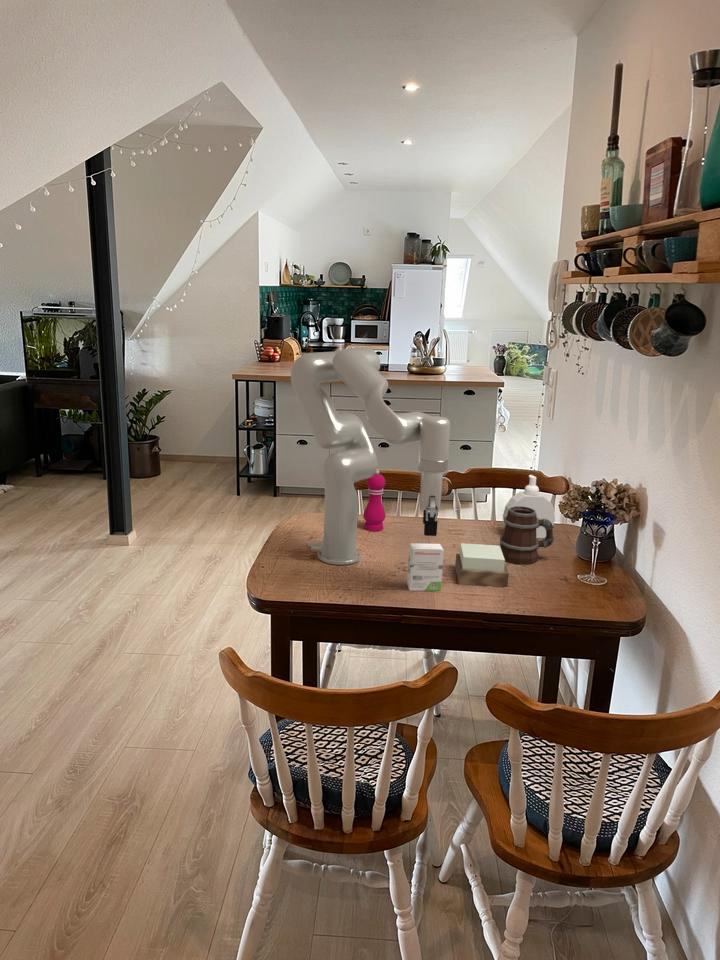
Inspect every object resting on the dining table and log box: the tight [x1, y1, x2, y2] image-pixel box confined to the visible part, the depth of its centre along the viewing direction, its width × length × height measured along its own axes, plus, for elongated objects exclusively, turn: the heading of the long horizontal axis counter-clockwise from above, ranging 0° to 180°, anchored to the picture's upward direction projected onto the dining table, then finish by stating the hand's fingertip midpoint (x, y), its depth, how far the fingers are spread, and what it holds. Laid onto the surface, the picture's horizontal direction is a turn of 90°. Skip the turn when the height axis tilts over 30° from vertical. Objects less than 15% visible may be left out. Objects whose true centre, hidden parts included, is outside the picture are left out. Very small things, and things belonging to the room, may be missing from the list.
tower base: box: [454, 553, 509, 588], centre depth 204 cm, size 13×13×4 cm
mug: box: [499, 506, 555, 565], centre depth 218 cm, size 16×12×15 cm
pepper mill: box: [362, 468, 386, 532], centre depth 238 cm, size 7×7×20 cm
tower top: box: [459, 542, 506, 572], centre depth 203 cm, size 11×11×4 cm
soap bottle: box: [502, 474, 556, 539], centre depth 238 cm, size 16×5×20 cm, turn 97°
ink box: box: [406, 542, 445, 592], centre depth 194 cm, size 9×5×12 cm, turn 94°
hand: (429, 529), depth 191 cm, fingers open, 9 cm apart
